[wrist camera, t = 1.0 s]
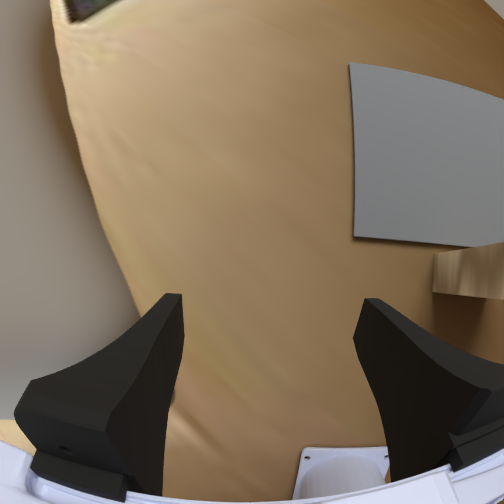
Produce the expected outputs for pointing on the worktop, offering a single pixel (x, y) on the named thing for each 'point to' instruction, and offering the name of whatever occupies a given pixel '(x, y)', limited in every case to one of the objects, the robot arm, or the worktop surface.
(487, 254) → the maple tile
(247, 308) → the worktop surface
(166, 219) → the worktop surface
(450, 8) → the worktop surface
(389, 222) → the mat
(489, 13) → the worktop surface
